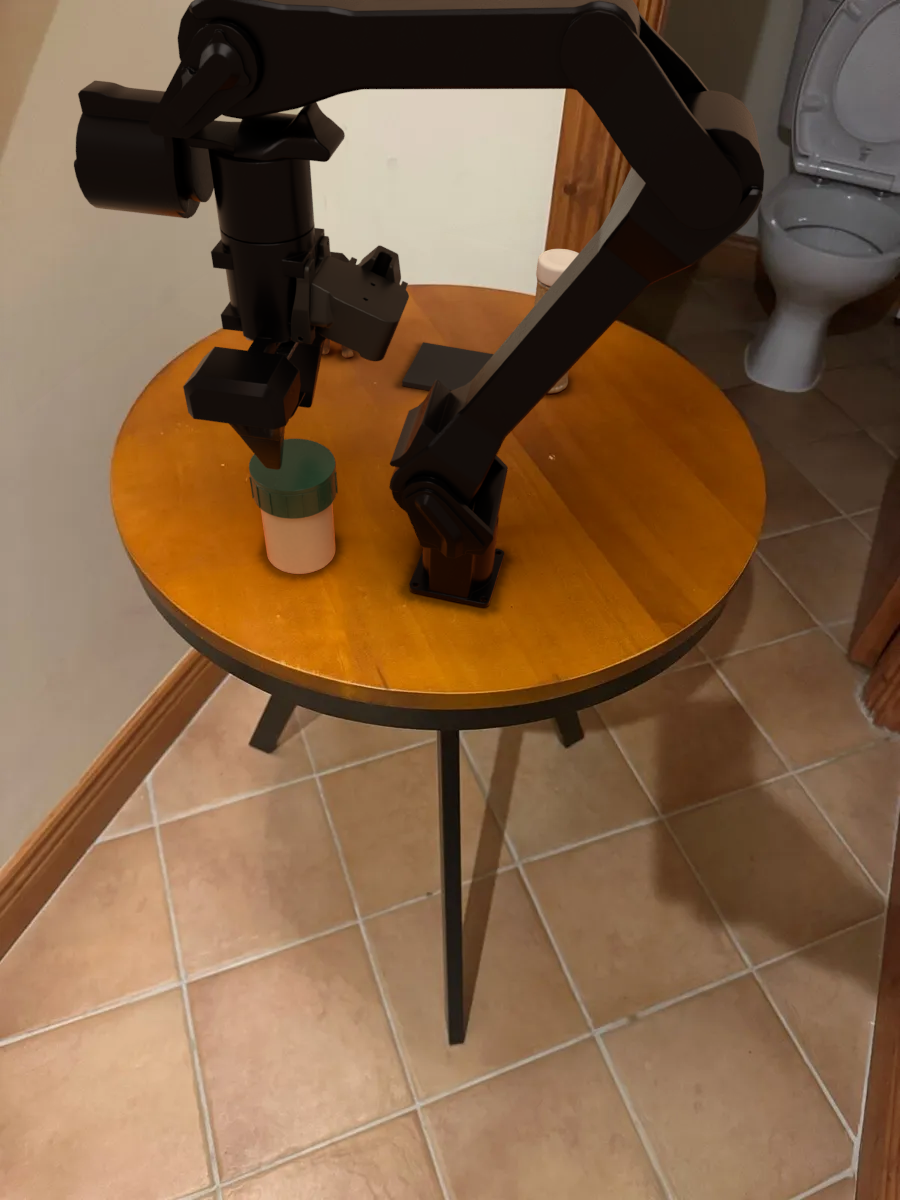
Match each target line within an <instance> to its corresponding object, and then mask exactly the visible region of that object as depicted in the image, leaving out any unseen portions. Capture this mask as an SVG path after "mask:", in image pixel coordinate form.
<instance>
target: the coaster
mask: <svg viewBox="0 0 900 1200" xmlns="http://www.w3.org/2000/svg"><path fill="white" fill-rule="evenodd" d="M493 355H494V353H489V352H484V351H483V352H482V351H476V350H470V349H466V348H459V347H455V346H454V347H453V346H447V345H443V344H435V343H430V342H422V344H421V345H420V346H419V349H418V351H417V353H416V354H415V356H414V358H413V360H412V362H411V364H410V366H409V367H408V370H407V371H406V373H405V375H404V377H403V379H402V381H401V386H402V387H406V388H413V389H418V390H424V391H428V392H429V391H430V389H431V387H432V385H433V384H434V382H435V380H439V381H440V382H441V383H442V384H443V385H444V386H445V387H446V388H447V389H448V390H449V391H453V390H455V389H457V388H460V387H462V386H465V385H466V384H468V383H469V382H470V381H471V380H472V379H473V378H474V377H475V376H476V375H477V374H478V372H479V371H480V370H481V369H482V368H483V366H484V365H485V364H486V363H487V362H488V361H489V359H490V358H491V357H492V356H493Z"/></svg>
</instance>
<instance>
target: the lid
mask: <svg viewBox="0 0 900 1200" xmlns="http://www.w3.org/2000/svg"><path fill="white" fill-rule="evenodd" d="M248 471H249V485H250V492H251V498H252V499H253V501H254V502H255V504H256V506H257V507H258V508H259V509H260V510H261V509H262V510H263V511H264V512H266V513H268V514H270V515H273V516H276V517H280V518H287V519H297V518H305V517H309V516H312V515H315V514H318V513H320V512H322V511H323V510H325V509H326V508H327V507H329V506H330V505H331V504H332V502H333V503H334V502H335V500H336V497H337V495H338V493H339V490H338V474H337V463H336V458H335V456H334V454H333V453H332V451H331V450H330V449H329V448H328V447H327V446H325V445H324V444H321V443H319V442H317V441H314V440H310V439H305V438H284V448H283V458H282V466H281V468H280V469H279V470H276V469H269V468H266V467H265V466H264V465H263V464H262V463H261V461H260V460H259V459H258V458H257V457H256V455H255V454H254V453H253V455H251V458H250V460H249V463H248Z"/></svg>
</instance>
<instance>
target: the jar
mask: <svg viewBox="0 0 900 1200" xmlns="http://www.w3.org/2000/svg"><path fill="white" fill-rule="evenodd" d="M260 515H261V522H262V528H263V535H264V543H265V550H266V556H267V559H268V561H269V562H270V564H271V565H272V566H273V567H275V569H277V570H279V571H282V572H284V573H288V574H292V575H293V574H294V575H305V574H310V573H314V572H317V571H320V570H322V569H323V568H325V567H326V566H328V565H329V564H330V563H331V561H332V560H333V559H334V557H335V554H336V546H337V545H336V534H335V532H336V531H335V518H334V517H335V516H334V501H333V502H332V504H331V505H330V506H329V507H327V508H326V509H325V510H323V511H322V512H320V513H318V514H315V515H312V516H309V517H305V518H297V519H287V518H280V517H276V516H273V515H270V514H268V513H266V512H264V511H263V510H262V509H260Z"/></svg>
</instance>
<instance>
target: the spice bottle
mask: <svg viewBox="0 0 900 1200" xmlns="http://www.w3.org/2000/svg"><path fill="white" fill-rule="evenodd" d="M579 253H580V252H577V251H574V250H571V249H567V248H552V249H548V250H545V251H543V252H542V253H540V254H539V256H538V258H537V262H536V271H535V276H536V287H535V297H534V302H533V303H534V304H533V307H534V306H535V305H536V304H537V303H538V301H539V300H540V299H541V298H542V297H543V296H544V294H545V293H546V292H547V291H548V290H549V288H550V287H551V286H552V285H553V284H554V282H555V281H556V280H557V279H558V278H559V277H560V275H561V274H562V273H563V272H564V271H565V269H566V268H567V267H568V266H569V265H570V264H571V262H572V261H573V260H574V259H575V258H576V256H577V255H578V254H579ZM569 371H570V370H569ZM569 371H568V372H567V373H566V374H565V375H564V376H563V377H562V378H561V379H560V380H559V381H558V382H557V383H556V384H555V385H554V387H553V388H552V389H551V390H550V391H549V392H548V393H547V394H557V393H559V392H563V390H565V389H566V388H567V386H568V384H569V373H570V372H569Z"/></svg>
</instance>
